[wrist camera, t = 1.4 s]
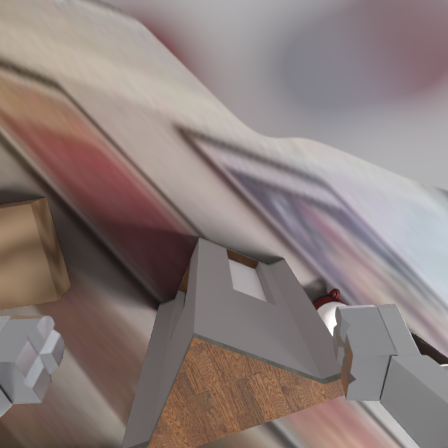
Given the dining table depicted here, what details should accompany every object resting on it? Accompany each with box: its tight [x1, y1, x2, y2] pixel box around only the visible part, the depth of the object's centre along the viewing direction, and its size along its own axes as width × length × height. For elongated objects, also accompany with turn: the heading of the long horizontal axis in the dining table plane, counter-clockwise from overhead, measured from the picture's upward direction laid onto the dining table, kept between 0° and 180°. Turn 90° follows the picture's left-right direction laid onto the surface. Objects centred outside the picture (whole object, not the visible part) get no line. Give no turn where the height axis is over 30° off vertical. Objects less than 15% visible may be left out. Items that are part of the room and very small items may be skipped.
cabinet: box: [121, 237, 345, 448], centre depth 43 cm, size 21×10×28 cm, turn 111°
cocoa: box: [313, 289, 348, 336], centre depth 54 cm, size 10×6×12 cm, turn 147°
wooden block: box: [0, 197, 71, 310], centre depth 52 cm, size 14×14×5 cm
